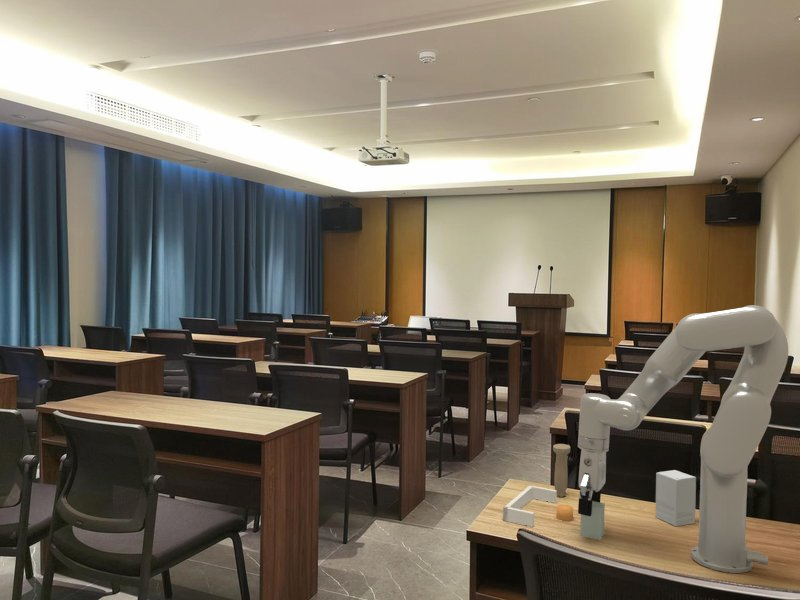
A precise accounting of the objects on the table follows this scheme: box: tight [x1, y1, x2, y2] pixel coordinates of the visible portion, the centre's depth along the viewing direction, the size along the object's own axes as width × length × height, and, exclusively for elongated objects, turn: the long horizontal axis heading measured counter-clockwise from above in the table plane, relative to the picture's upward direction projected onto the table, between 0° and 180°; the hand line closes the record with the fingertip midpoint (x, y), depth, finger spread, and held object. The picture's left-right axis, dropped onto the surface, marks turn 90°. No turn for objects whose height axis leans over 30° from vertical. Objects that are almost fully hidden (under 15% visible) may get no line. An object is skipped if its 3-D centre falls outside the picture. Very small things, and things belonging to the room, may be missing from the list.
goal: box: [502, 484, 558, 528], centre depth 169 cm, size 8×22×4 cm, turn 150°
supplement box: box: [655, 469, 697, 527], centre depth 164 cm, size 7×7×13 cm
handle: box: [552, 443, 571, 498], centre depth 182 cm, size 5×6×15 cm
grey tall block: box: [579, 501, 606, 541], centre depth 153 cm, size 5×4×8 cm
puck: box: [555, 504, 574, 522], centre depth 164 cm, size 4×4×3 cm
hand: (589, 508), depth 153 cm, fingers open, 9 cm apart
